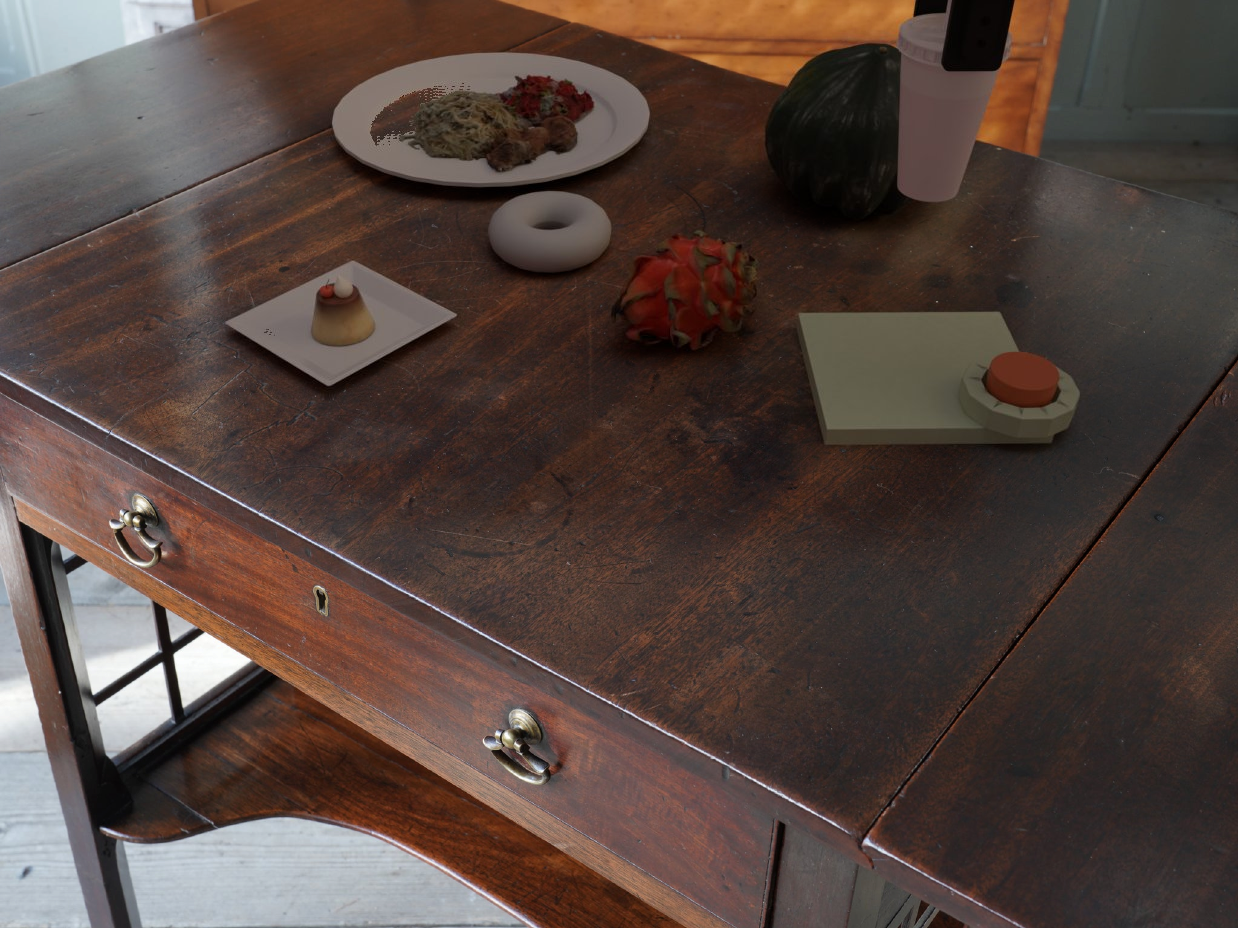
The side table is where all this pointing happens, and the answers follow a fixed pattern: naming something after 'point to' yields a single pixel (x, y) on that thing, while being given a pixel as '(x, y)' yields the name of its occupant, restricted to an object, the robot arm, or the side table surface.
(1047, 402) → the button
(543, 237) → the donut
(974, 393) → the scale
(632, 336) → the dragon fruit
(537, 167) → the plated food
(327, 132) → the side table surface
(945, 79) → the smoothie
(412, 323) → the dessert
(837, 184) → the squash
